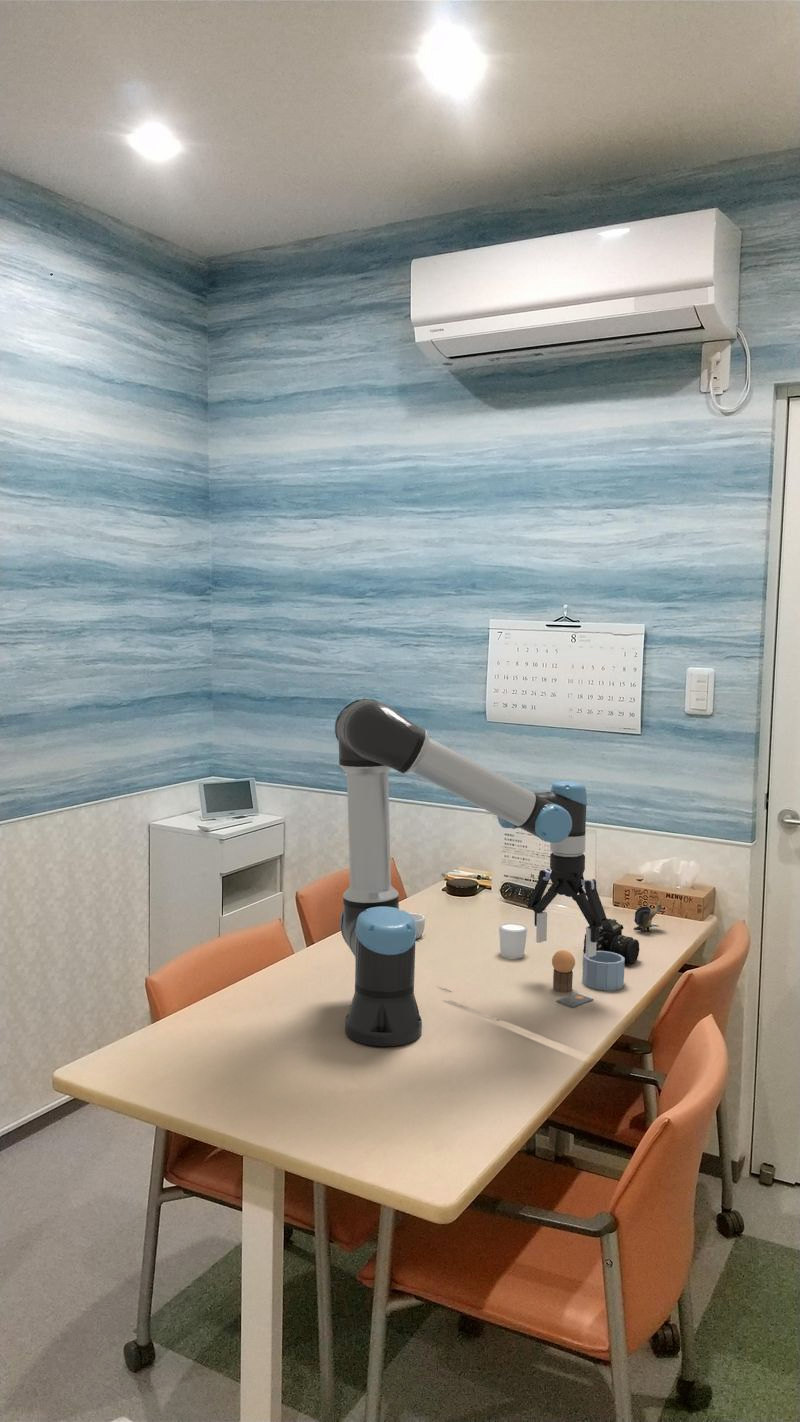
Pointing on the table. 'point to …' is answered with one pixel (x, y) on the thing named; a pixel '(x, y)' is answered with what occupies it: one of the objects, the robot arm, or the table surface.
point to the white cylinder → (512, 940)
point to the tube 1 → (562, 981)
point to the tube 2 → (603, 971)
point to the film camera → (616, 942)
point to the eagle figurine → (646, 917)
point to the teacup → (418, 923)
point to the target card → (574, 1000)
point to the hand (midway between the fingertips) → (565, 948)
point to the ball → (563, 961)
